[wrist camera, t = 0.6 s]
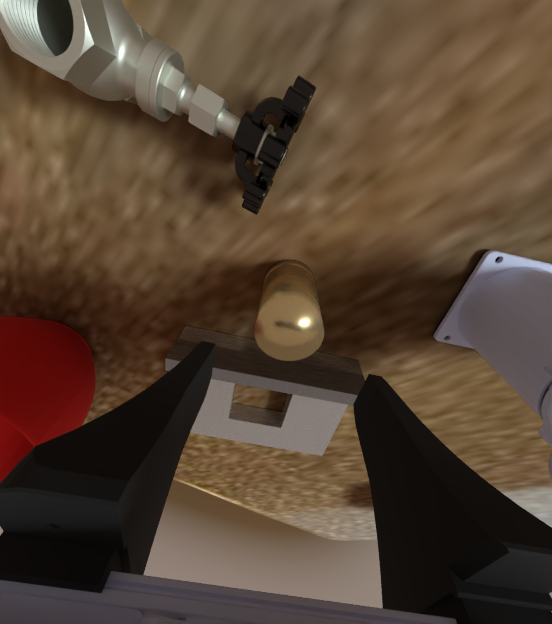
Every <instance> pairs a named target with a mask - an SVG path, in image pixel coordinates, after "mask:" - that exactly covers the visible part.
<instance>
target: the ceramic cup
mask: <svg viewBox="0 0 552 624" xmlns="http://www.w3.org/2000/svg"><path fill="white" fill-rule="evenodd" d="M95 383H96V379H95V369H94V363H93V357H92V352H91V349H90V347H89V346H88V344H87V342H86V341H85V340H84V339H83V338H82V337H81V336H80V335H79V334H78V333H77V332H75V331H74V330H72V329H71V328H69V327H67V326H65V325H64V324H61V323H58V322H56V321H52V320H46V319H36V318H28V317H15V316H0V483H1V481H2V480H3V479H4V478H5V477H6V476H7V475H8V474H9V472H10V471H11V470H12V469H13V468H14V467H15V466H16V465H17V464H18V463H19V461H20V460H21V459H22V458H23V457H24V456H26V455H27V454H28V453H29V452H30V451H31V450H32V449H33V448H34V447H35V446H37V445H39V444H42V443H44V442H46V441H49V440H51V439H53V438H56V437H58V436H61V435H63V434H65V433H68V432H70V431H72V430H74V429H76V428H79V427H81V426H82V424H83V422H84V420H85V418H86V416H87V414H88V412H89V409H90V407H91V404H92V400H93V396H94V390H95Z"/></svg>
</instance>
